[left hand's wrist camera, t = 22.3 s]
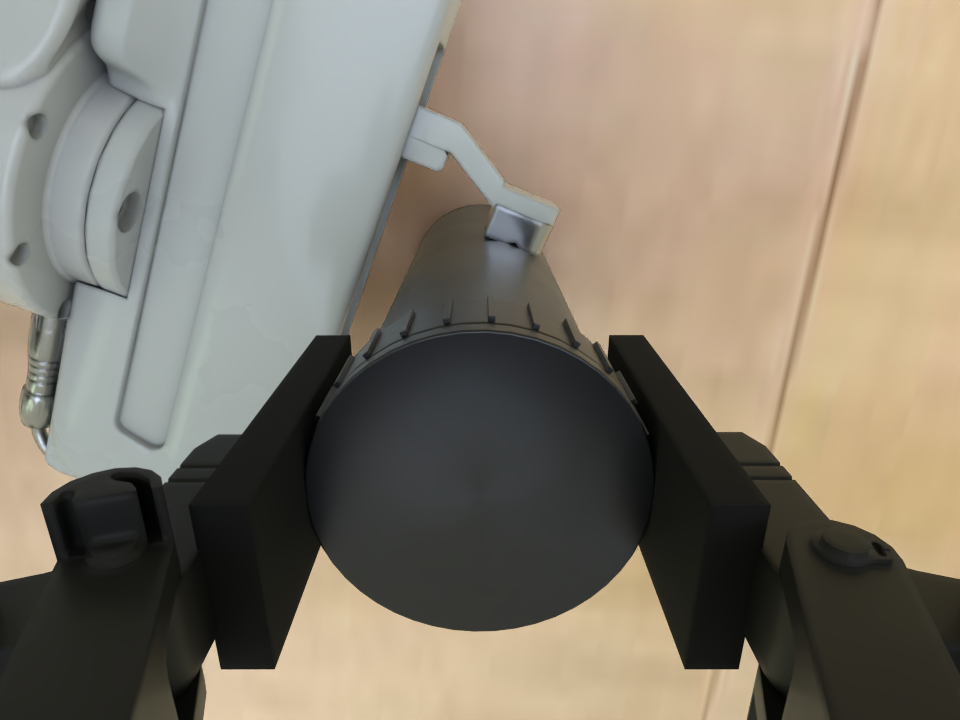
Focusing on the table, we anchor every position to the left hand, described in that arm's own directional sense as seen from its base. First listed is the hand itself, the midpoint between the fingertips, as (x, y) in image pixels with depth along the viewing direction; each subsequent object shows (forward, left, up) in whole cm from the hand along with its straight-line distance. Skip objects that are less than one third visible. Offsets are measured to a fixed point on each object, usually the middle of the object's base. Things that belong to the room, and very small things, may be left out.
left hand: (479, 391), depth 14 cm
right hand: (-1, 0, -6) cm, 6 cm away
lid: (0, 0, +4) cm, 4 cm away
